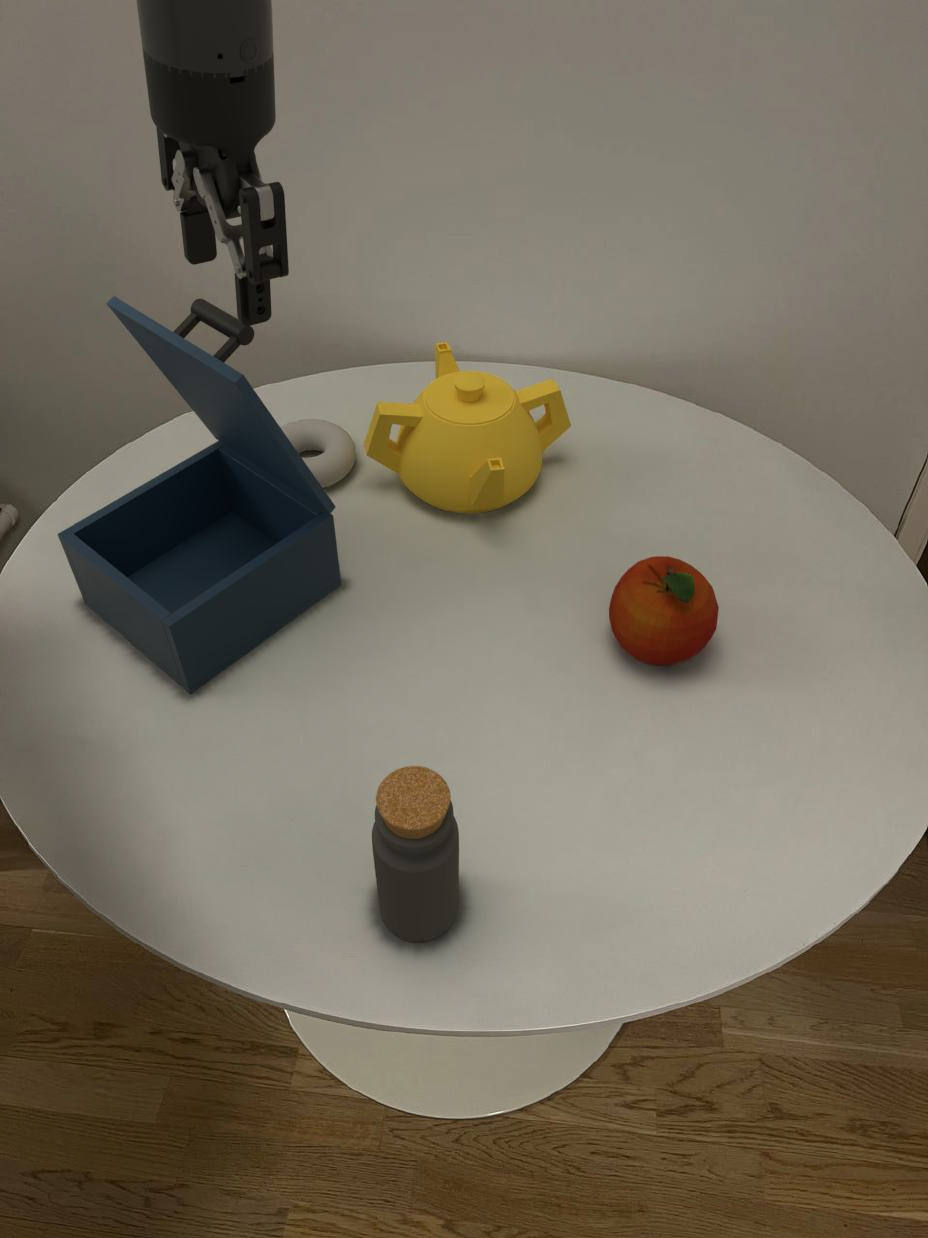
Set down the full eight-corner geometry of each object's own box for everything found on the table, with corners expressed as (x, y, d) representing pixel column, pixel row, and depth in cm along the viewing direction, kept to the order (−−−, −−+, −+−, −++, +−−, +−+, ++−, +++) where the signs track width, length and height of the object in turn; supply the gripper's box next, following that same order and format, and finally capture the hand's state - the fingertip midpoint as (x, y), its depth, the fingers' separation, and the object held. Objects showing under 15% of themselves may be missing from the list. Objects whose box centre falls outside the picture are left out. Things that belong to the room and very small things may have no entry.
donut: (291, 510, 104) (374, 473, 107) (287, 484, 101) (372, 448, 105) (248, 458, 109) (329, 426, 113) (243, 433, 107) (325, 400, 110)
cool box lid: (235, 383, 73) (283, 331, 74) (105, 303, 80) (151, 256, 81) (329, 514, 89) (367, 470, 90) (215, 438, 96) (252, 398, 97)
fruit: (686, 597, 96) (705, 519, 88) (724, 673, 90) (749, 596, 82) (590, 612, 94) (601, 534, 87) (622, 691, 88) (637, 614, 81)
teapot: (358, 489, 106) (350, 394, 97) (442, 408, 115) (441, 315, 106) (497, 547, 100) (501, 452, 91) (572, 457, 110) (583, 363, 101)
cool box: (190, 694, 87) (169, 626, 81) (84, 604, 94) (56, 533, 88) (341, 585, 96) (333, 515, 90) (234, 509, 104) (219, 439, 97)
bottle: (461, 940, 73) (462, 834, 62) (380, 945, 72) (366, 840, 61) (456, 867, 77) (456, 755, 65) (379, 871, 76) (366, 759, 65)
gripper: (98, 3, 61) (136, 252, 73) (200, 99, 54) (222, 357, 66) (214, -9, 64) (231, 232, 76) (324, 80, 57) (323, 329, 69)
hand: (227, 290), depth 71 cm, fingers open, 8 cm apart
